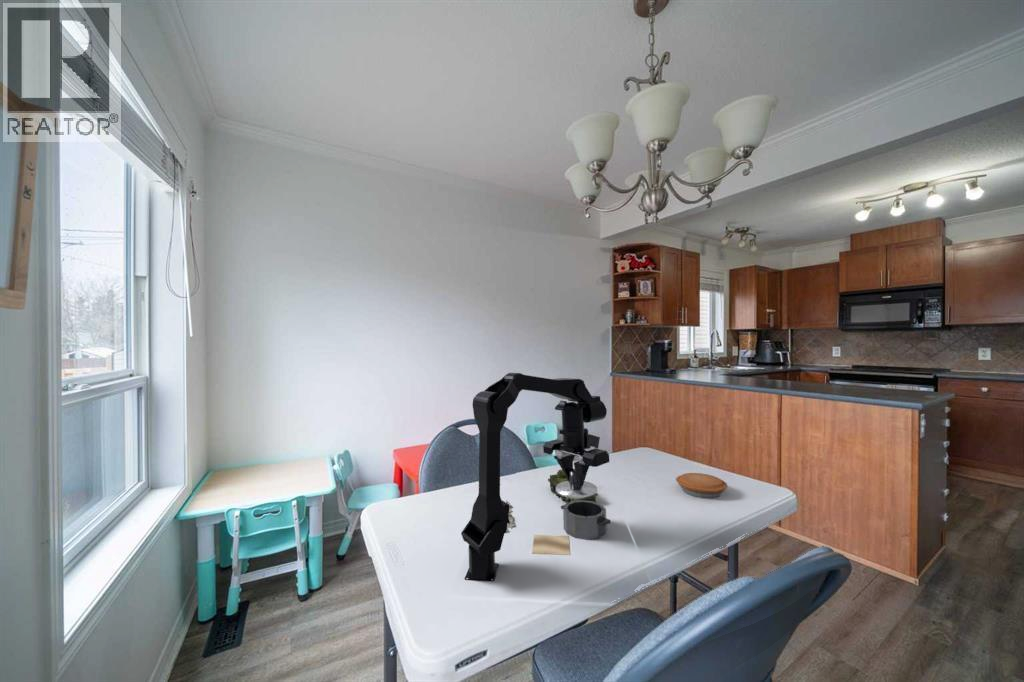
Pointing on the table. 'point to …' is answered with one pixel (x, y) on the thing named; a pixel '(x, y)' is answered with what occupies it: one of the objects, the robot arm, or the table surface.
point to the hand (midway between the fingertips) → (576, 484)
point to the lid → (575, 488)
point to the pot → (585, 519)
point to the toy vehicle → (561, 477)
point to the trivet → (551, 545)
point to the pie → (701, 485)
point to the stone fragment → (510, 519)
